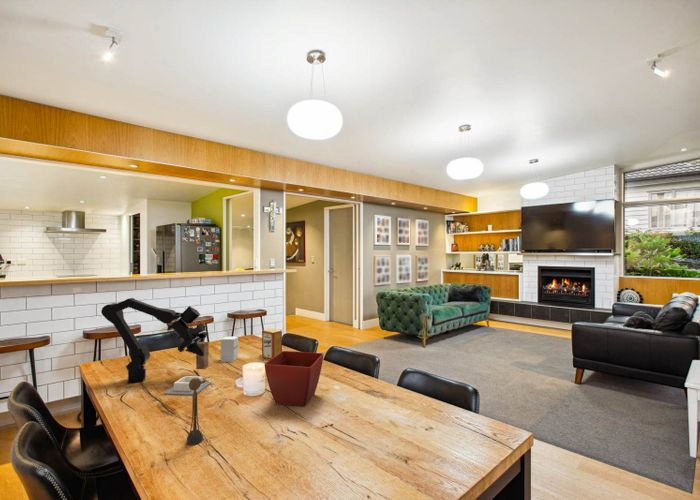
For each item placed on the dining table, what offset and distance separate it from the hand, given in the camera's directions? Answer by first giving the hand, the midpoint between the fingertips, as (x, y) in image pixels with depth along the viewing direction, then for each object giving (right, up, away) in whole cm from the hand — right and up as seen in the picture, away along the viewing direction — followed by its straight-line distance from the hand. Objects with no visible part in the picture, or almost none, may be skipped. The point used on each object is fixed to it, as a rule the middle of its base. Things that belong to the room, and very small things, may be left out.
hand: (205, 354), depth 167 cm
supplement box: (+2, -12, +29) cm, 31 cm away
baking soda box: (+25, -12, +33) cm, 43 cm away
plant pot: (+47, -11, -25) cm, 54 cm away
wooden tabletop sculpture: (+20, -11, -56) cm, 61 cm away
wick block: (-1, -7, 0) cm, 7 cm away
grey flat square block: (-2, -11, -13) cm, 17 cm away
